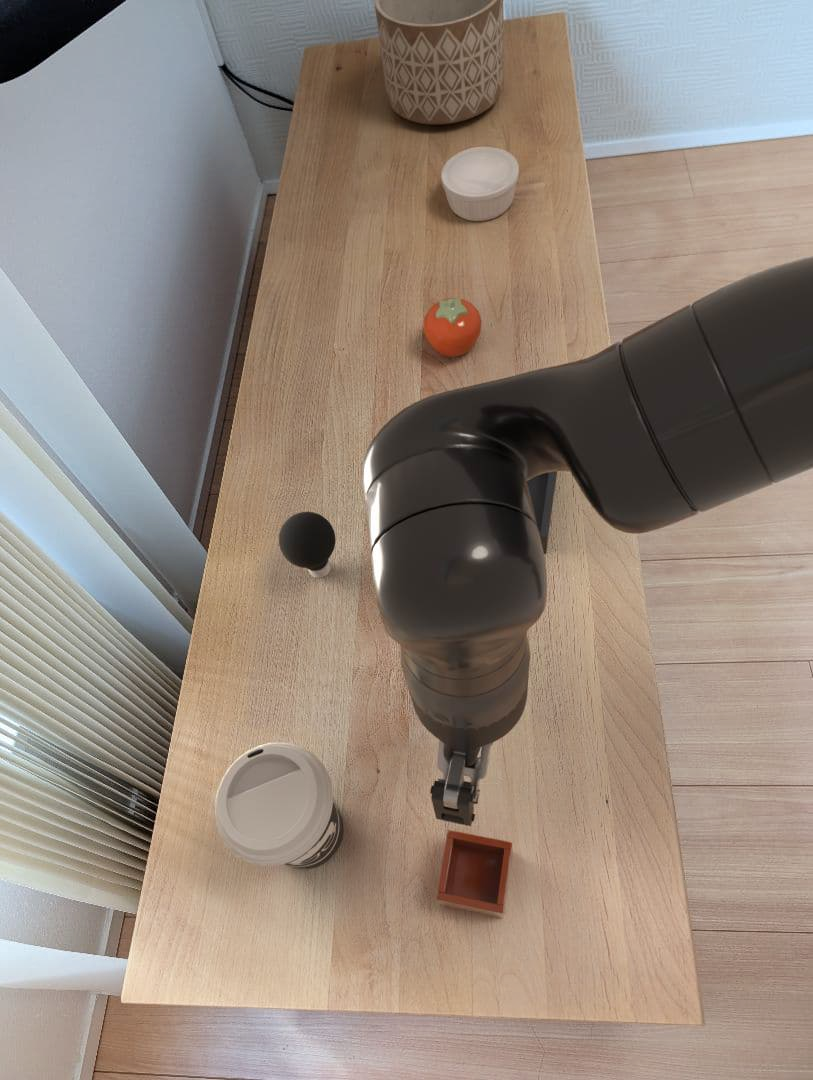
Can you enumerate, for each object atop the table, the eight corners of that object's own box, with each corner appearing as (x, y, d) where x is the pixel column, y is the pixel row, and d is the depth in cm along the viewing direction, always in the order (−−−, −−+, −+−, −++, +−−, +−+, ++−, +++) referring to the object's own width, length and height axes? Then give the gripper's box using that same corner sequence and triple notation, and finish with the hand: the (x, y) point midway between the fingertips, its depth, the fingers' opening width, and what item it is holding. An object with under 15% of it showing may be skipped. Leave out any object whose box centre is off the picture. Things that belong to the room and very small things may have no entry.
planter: (365, 112, 131) (347, 5, 117) (437, 55, 137) (428, -52, 123) (455, 148, 123) (448, 38, 109) (526, 86, 130) (529, -25, 116)
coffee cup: (362, 779, 75) (332, 734, 62) (356, 887, 70) (322, 863, 57) (265, 779, 76) (216, 735, 63) (253, 886, 71) (197, 861, 58)
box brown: (512, 850, 70) (512, 842, 66) (503, 918, 68) (503, 913, 64) (451, 838, 71) (447, 829, 68) (440, 904, 69) (436, 899, 65)
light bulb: (337, 599, 85) (318, 555, 77) (288, 589, 86) (263, 544, 78) (353, 554, 88) (337, 506, 79) (305, 544, 89) (284, 496, 81)
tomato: (478, 322, 104) (476, 274, 97) (485, 363, 100) (484, 316, 93) (423, 329, 104) (417, 282, 97) (428, 371, 100) (422, 325, 94)
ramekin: (449, 233, 113) (447, 201, 109) (438, 186, 119) (435, 154, 115) (525, 219, 113) (526, 187, 108) (510, 172, 119) (510, 140, 114)
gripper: (509, 798, 43) (507, 847, 57) (545, 572, 50) (535, 665, 63) (378, 770, 44) (407, 824, 58) (430, 555, 51) (445, 649, 65)
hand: (474, 741), depth 61 cm, fingers open, 8 cm apart
